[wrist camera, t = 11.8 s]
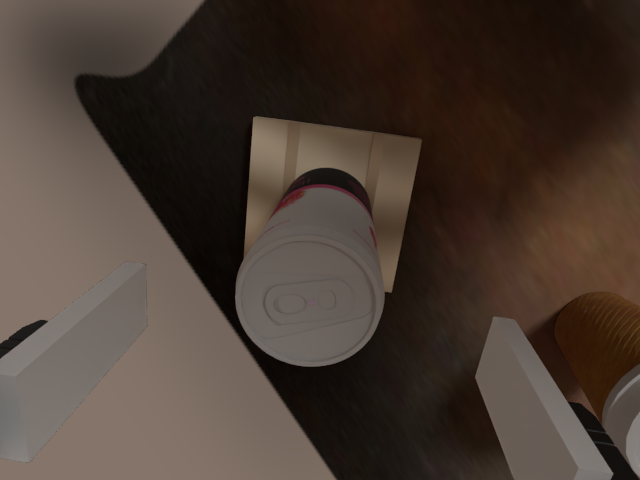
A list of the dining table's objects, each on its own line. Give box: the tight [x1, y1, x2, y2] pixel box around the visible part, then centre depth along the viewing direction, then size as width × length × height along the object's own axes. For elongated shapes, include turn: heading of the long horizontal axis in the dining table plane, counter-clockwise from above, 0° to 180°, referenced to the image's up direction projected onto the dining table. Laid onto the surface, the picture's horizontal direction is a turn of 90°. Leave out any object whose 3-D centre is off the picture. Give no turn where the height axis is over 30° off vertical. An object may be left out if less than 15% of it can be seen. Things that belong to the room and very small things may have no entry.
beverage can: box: [235, 168, 385, 367], centre depth 25 cm, size 7×6×15 cm
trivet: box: [244, 116, 422, 293], centre depth 33 cm, size 12×12×1 cm
